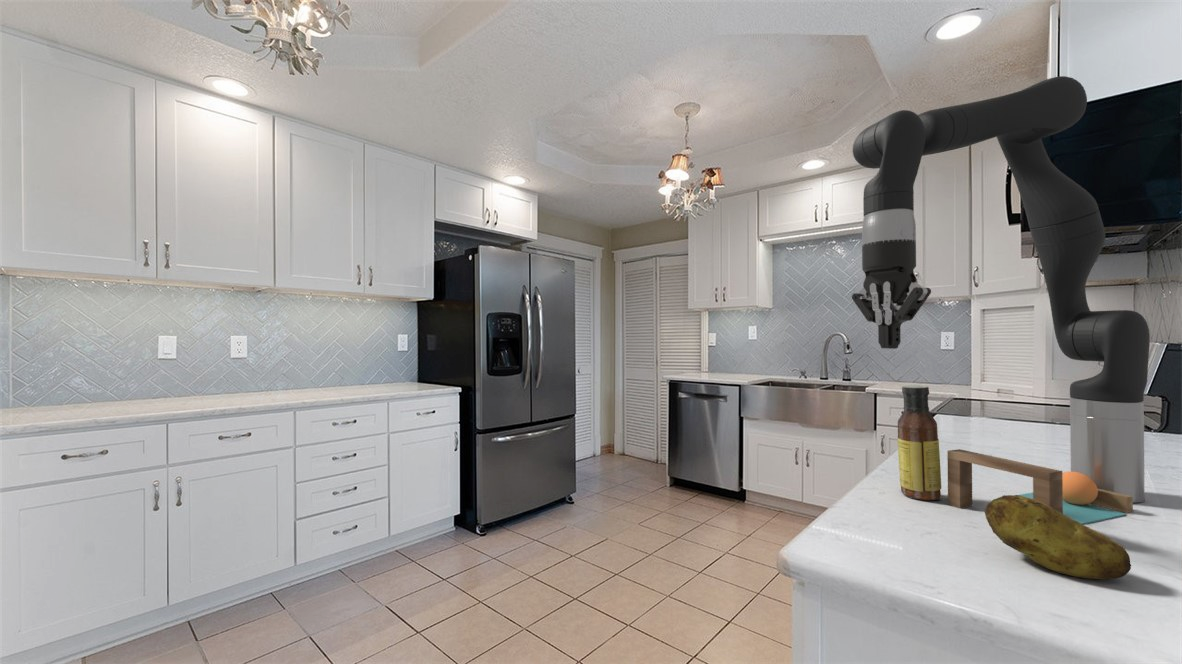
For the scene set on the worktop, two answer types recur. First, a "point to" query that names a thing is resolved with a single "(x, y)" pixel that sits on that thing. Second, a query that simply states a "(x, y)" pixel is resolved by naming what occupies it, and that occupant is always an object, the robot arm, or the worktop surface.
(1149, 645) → the worktop surface
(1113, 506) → the stopper strip
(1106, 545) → the potato
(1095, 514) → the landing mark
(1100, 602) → the worktop surface
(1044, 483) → the bridge
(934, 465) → the sauce bottle
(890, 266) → the robot arm
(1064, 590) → the worktop surface
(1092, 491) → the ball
